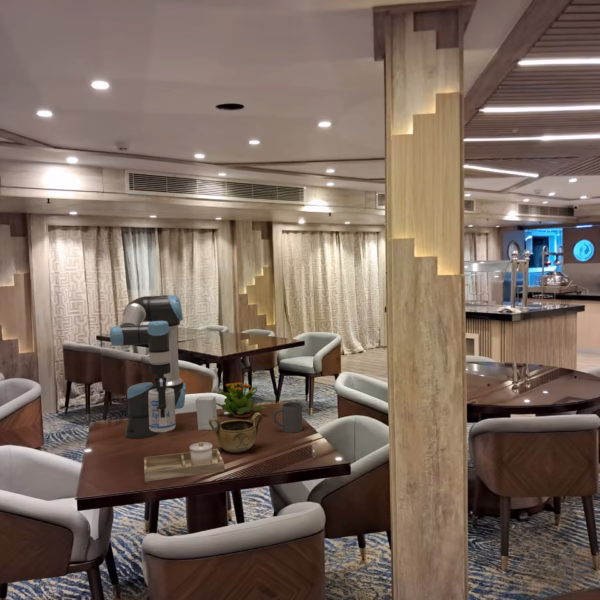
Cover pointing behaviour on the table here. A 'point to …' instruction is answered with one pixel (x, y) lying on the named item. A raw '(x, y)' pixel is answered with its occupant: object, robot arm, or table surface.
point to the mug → (290, 417)
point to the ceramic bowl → (237, 433)
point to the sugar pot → (201, 453)
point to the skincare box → (206, 412)
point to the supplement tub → (154, 411)
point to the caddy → (179, 466)
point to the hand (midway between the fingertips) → (162, 422)
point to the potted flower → (239, 400)
